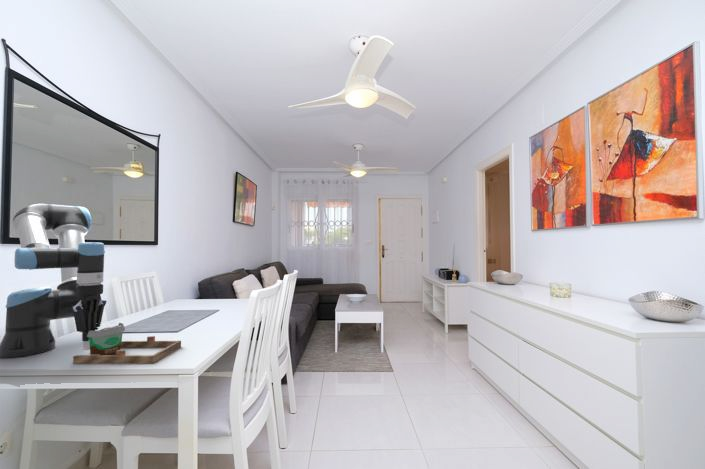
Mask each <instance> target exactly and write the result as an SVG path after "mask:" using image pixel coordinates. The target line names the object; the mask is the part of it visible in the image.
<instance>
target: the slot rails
mask: <svg viewBox="0 0 705 469" xmlns="http://www.w3.org/2000/svg"><path fill="white" fill-rule="evenodd" d="M181 347H182V340H156V336H155V335H152V336H151V335H148V336H147V337H146V340H122V342H121V349H120V350H117V351H116V355H90V354H88V355H87V354H83V355H82V354H81V355H79V354H77V355H74V356H72V364H73V365H74V364H77V365H78V364H79V365H80V364H81V365H82V364H88V365H89V364H90V365H91V364H155V363H157V362H158V361H161V360H162V359H164V358H165V357H167V356H168V355H170V354H172V353H173V352H175V351H176V350H178V349H179V348H181ZM130 348H131V349H138V348H139V349H147V348H148V349H152V348H153V349H158V348H159V349H160V348H161V349H162V350H159V351H158V352H156V353H154V354H135V355H134V354H128V355H126V349H130Z"/></svg>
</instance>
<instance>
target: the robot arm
mask: <svg viewBox="0 0 705 469" xmlns="http://www.w3.org/2000/svg"><path fill="white" fill-rule="evenodd" d="M12 223H13V227H14V229H15V230H17V231H18V238H19V242H20V247H19V248H16V249H15V251H14V261H13V262H14V268H15V269H17V270H30V271H31V270H43V269H44V270H46V269H47V270H48V269H60V279H61V280H60V281H61V283H59V284H58V285H57V286H56V289H53V288H52V287H51V286H41V287H33V288H27V289H26V288H25V289H22V290H17V291H14V292H11V293H10V294H8V296H7V298H6V305H5V308H6V312H5V313H6V314H5V330H4V332H5V333H4V335H3V338H2V339H1V341H0V358H1V357H3V358H1V359H5V358H6V359H11V358H12V359H13V358H20V357H27V356H31V355H32V356H33V355H37V354H40V353H44V352H47V351H50V350H52V349H54V348H56V339H55V336H54V334H53V332H52V329H51V321H53V320H61V319H68V318H69V319H70V318H74V324H75V329H76V332H79V333H81V340H82V351H90V344H89V337H87V335H88V333H89V331H99V327H101V324H102V321H103V320H102V319H103V315H104V309H105V306H106V304H107V300H103V299H102V296H101V295H102V294H103V293H104V284H103V283H104V267H105V253H106V251H105V244H104V243H103V242H93V241H92V242H91V241H90V242H88V241H87V242H85V236H86V235H87V234H88V232H89V231H91V228H92V216H91V212H90V211H89V209H88V208H86V207H85V206H77V205H63V204H51V203H50V204H49V203H36V204H31V205H30V204H29V205H28V206H25V207H22V208H21V209H19V210H18V211H17V212H16V213H15V215H14V216H13V219H12ZM47 231H52V233H53V235H54V236H55V237H56V238H57V239H58V240H57V241H58V247H51V245H50V242H49V238H48V235H47V234H48V233H47Z"/></svg>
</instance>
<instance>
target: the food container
mask: <svg viewBox="0 0 705 469" xmlns="http://www.w3.org/2000/svg"><path fill="white" fill-rule="evenodd" d="M125 331H126V327H125V325H124V323H121V322H119V323H118V325H114V326H110V327H104V328H102V329H98V330H95V331H89V333H88V335H87V337H89V344H90V350H89V355H116V351H117V350H122V348H121V342H122V341H123V332H125Z"/></svg>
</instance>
